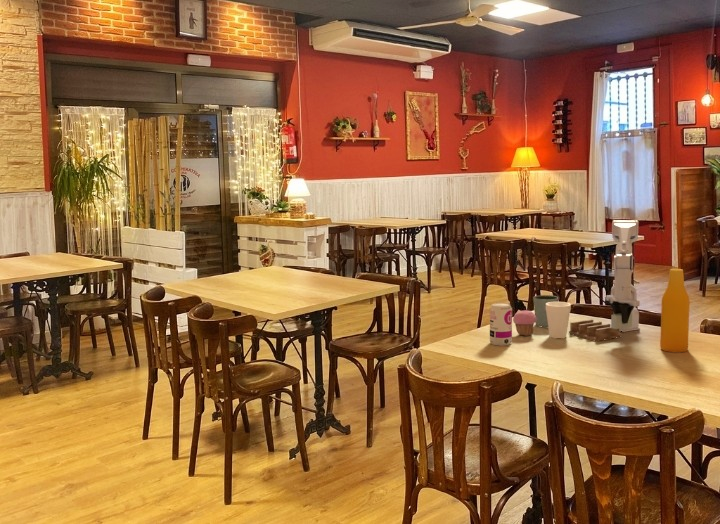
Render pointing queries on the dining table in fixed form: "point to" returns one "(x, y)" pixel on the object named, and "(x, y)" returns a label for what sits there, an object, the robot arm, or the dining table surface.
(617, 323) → the grey-green rectangular block
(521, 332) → the cupcake
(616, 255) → the robot arm
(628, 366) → the dining table surface
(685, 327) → the beer bottle
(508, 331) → the supplement can
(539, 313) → the grey-green pot
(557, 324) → the foam cup
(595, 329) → the rack
